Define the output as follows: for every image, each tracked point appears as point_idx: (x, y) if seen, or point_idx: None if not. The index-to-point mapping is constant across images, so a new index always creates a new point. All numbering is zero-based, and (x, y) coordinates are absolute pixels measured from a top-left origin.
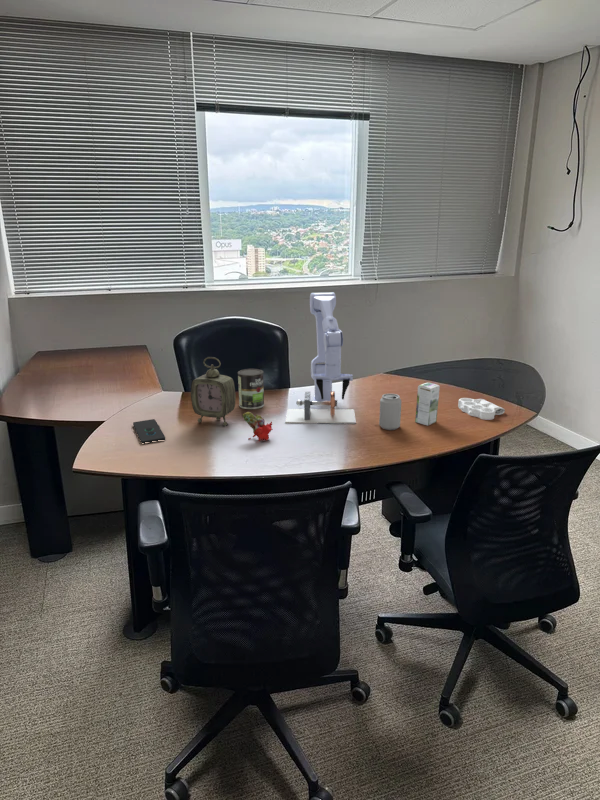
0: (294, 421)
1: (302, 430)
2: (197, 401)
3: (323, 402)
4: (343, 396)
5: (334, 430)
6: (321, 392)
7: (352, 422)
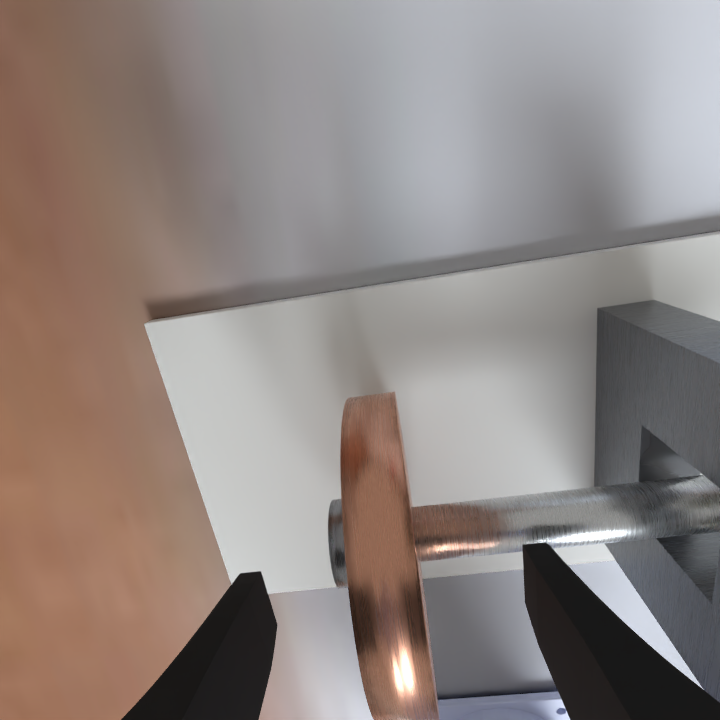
0: None
1: (672, 13)
2: None
3: (505, 519)
4: (224, 603)
5: (314, 93)
6: (606, 627)
7: (175, 317)
